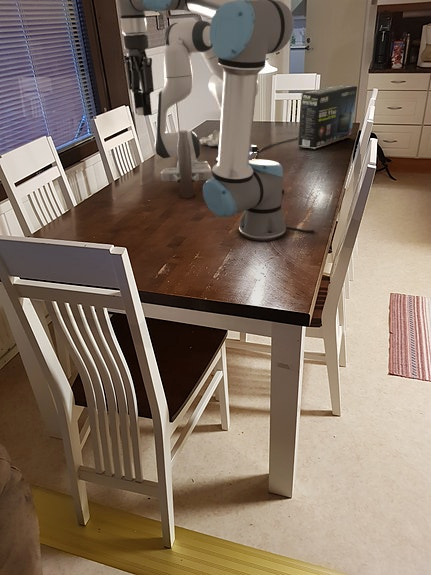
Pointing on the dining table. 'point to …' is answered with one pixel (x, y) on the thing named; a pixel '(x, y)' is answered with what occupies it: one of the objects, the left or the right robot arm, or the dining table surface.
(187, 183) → the bottle
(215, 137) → the fossil
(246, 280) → the dining table surface
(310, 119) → the router box
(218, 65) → the left robot arm
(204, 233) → the dining table surface
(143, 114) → the cap
